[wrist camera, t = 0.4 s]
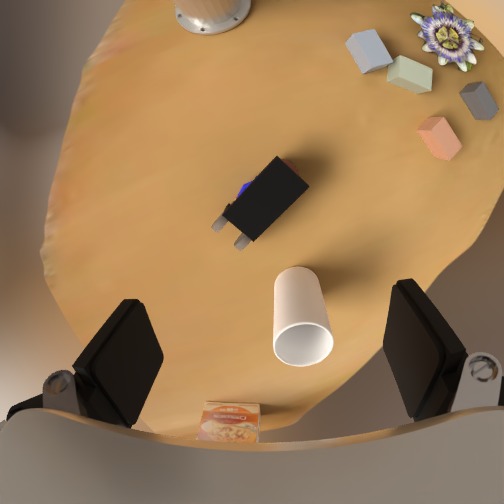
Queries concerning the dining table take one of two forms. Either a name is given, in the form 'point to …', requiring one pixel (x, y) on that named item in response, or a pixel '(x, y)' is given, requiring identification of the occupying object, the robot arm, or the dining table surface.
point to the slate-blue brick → (368, 51)
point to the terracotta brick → (439, 137)
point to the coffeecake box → (230, 422)
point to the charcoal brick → (479, 101)
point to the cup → (300, 318)
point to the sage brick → (410, 75)
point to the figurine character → (262, 201)
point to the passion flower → (448, 37)
